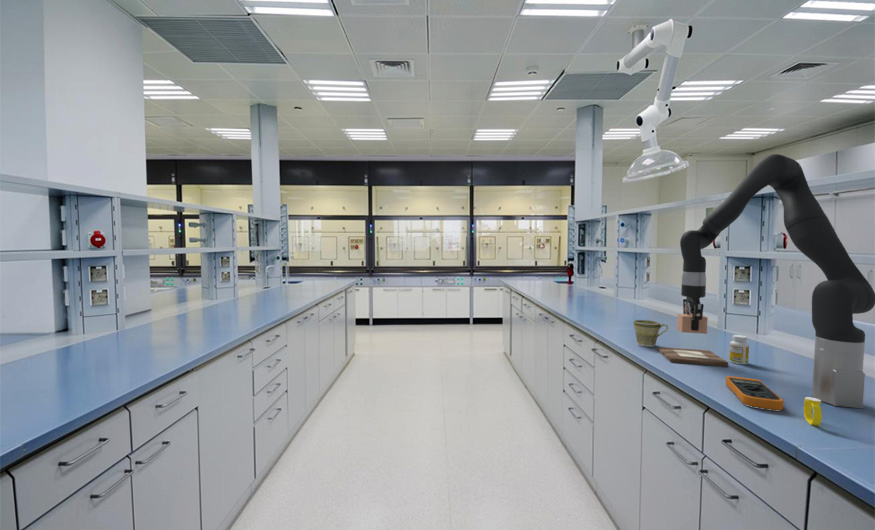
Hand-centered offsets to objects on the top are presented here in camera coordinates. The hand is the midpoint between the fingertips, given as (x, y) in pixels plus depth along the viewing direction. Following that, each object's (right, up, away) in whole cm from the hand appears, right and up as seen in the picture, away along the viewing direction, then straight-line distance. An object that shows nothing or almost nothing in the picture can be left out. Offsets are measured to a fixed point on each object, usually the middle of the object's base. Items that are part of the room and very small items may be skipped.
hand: (691, 328), depth 142 cm
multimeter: (-8, -14, -37) cm, 40 cm away
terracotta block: (0, -1, 0) cm, 1 cm away
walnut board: (0, -11, +1) cm, 11 cm away
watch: (-6, -14, -52) cm, 54 cm away
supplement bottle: (+14, -12, -5) cm, 19 cm away
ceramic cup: (-5, -11, +19) cm, 22 cm away
